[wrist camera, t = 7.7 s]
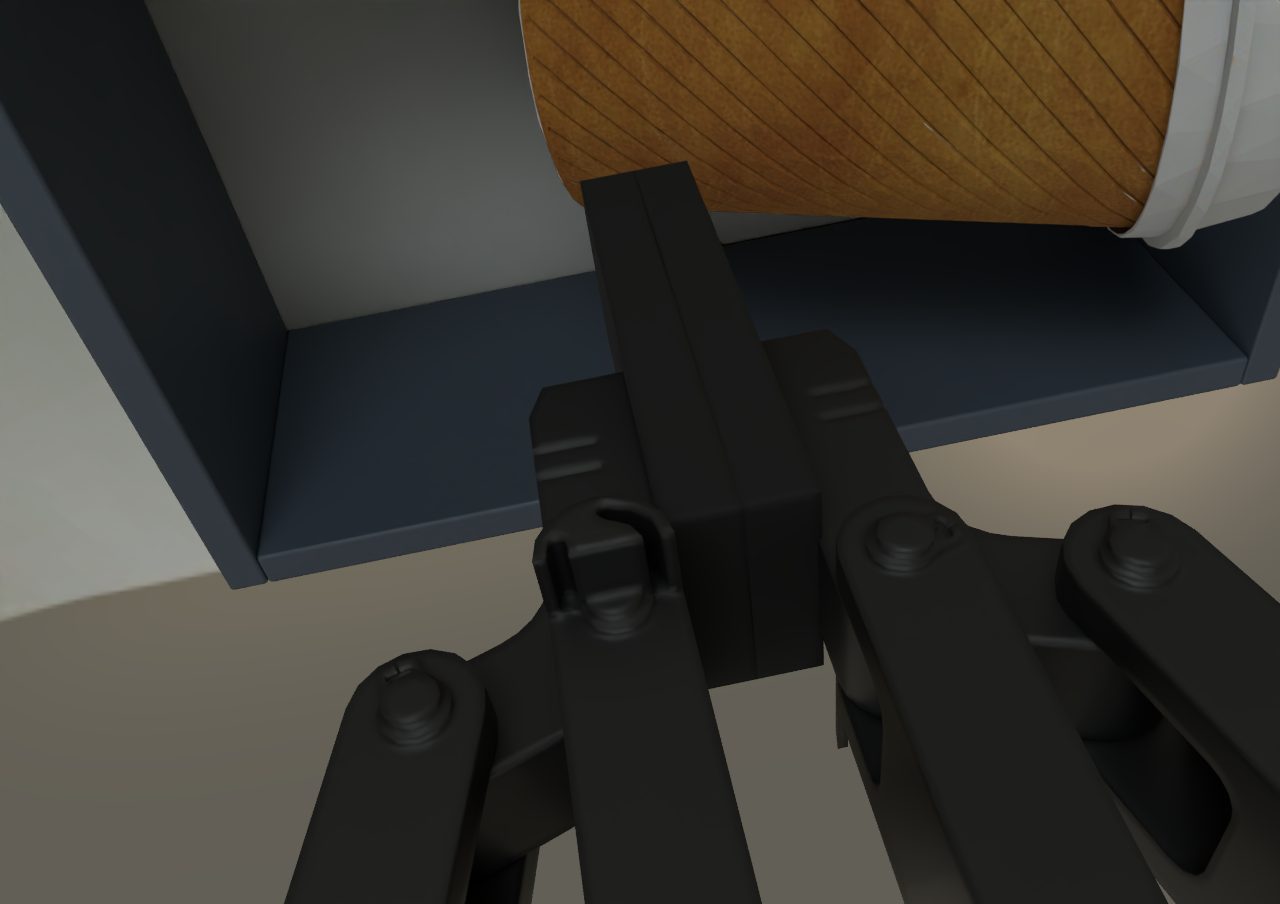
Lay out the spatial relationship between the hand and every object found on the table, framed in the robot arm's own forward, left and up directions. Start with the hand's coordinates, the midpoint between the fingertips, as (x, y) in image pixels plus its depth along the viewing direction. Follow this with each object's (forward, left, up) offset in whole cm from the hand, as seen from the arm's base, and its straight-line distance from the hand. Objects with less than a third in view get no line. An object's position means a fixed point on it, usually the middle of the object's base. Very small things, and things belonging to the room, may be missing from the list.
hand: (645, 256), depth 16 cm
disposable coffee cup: (0, 0, -8) cm, 8 cm away
